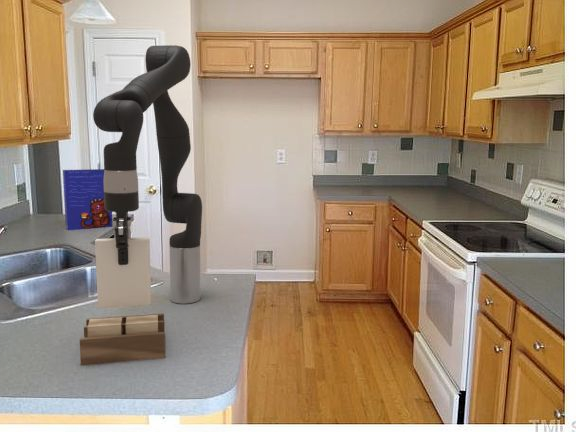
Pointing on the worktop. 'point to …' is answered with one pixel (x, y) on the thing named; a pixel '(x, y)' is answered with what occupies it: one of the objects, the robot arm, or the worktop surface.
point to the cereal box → (85, 199)
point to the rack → (123, 345)
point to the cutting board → (123, 273)
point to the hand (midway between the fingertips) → (123, 262)
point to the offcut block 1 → (105, 327)
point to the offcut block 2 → (142, 324)
